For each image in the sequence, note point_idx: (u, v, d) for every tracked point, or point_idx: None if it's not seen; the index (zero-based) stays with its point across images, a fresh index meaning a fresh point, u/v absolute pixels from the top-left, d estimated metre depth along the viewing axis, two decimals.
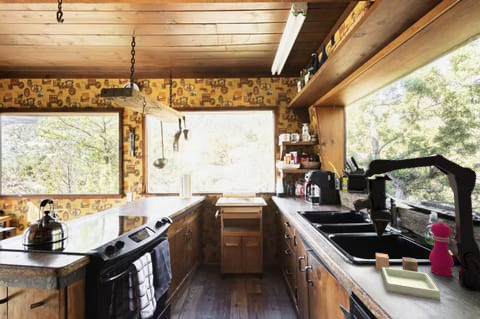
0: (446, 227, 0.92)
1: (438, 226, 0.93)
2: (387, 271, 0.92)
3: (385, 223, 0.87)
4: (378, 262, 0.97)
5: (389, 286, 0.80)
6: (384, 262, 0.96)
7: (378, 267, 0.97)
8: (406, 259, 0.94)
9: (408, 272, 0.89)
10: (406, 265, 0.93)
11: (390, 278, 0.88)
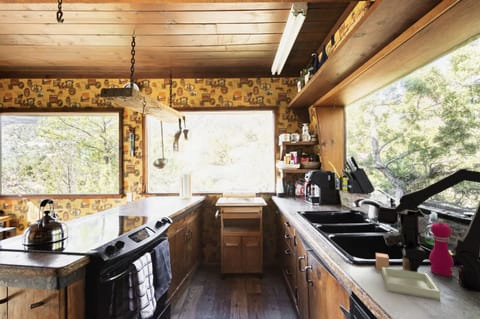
0: (446, 227, 0.92)
1: (438, 226, 0.93)
2: (387, 271, 0.92)
3: (419, 260, 0.88)
4: (378, 262, 0.97)
5: (389, 286, 0.80)
6: (384, 262, 0.96)
7: (378, 267, 0.97)
8: (406, 259, 0.94)
9: (408, 272, 0.89)
10: (406, 265, 0.93)
11: (390, 278, 0.88)
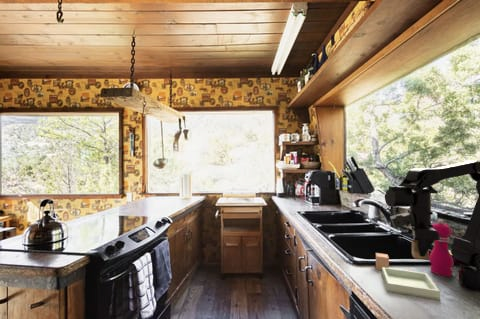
0: (446, 227, 0.92)
1: (438, 226, 0.93)
2: (387, 271, 0.92)
3: (430, 241, 0.78)
4: (378, 262, 0.97)
5: (389, 286, 0.80)
6: (384, 262, 0.96)
7: (378, 267, 0.97)
8: (416, 241, 0.83)
9: (408, 272, 0.89)
10: (416, 248, 0.82)
11: (390, 278, 0.88)
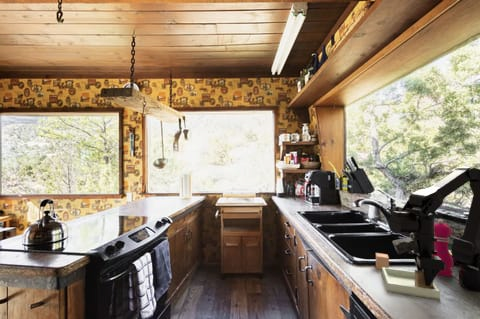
0: (446, 227, 0.92)
1: (438, 226, 0.93)
2: (387, 271, 0.92)
3: (436, 270, 0.75)
4: (378, 262, 0.97)
5: (389, 286, 0.80)
6: (384, 262, 0.96)
7: (378, 267, 0.97)
8: (419, 273, 0.81)
9: (408, 272, 0.89)
10: (419, 280, 0.79)
11: (390, 278, 0.88)
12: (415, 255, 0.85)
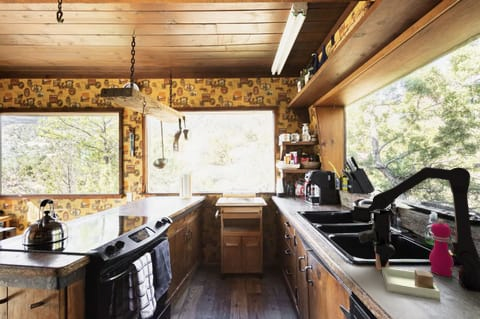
0: (446, 227, 0.92)
1: (438, 226, 0.93)
2: (387, 271, 0.92)
3: (388, 255, 0.94)
4: (378, 262, 0.97)
5: (389, 286, 0.80)
6: None
7: (378, 267, 0.97)
8: (419, 273, 0.81)
9: (408, 272, 0.89)
10: (419, 280, 0.79)
11: (390, 278, 0.88)
12: None
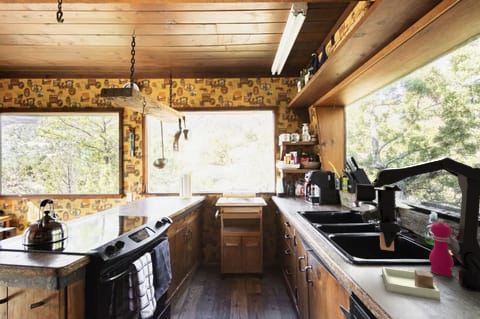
0: (446, 227, 0.92)
1: (438, 226, 0.93)
2: (387, 271, 0.92)
3: (393, 233, 0.88)
4: (382, 241, 0.91)
5: (389, 286, 0.80)
6: None
7: (382, 247, 0.91)
8: (419, 273, 0.81)
9: (408, 272, 0.89)
10: (419, 280, 0.79)
11: (390, 278, 0.88)
12: None
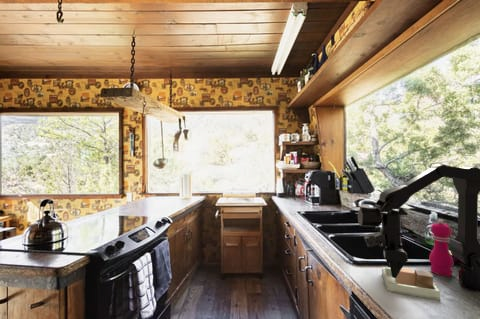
0: (446, 227, 0.92)
1: (438, 226, 0.93)
2: (387, 271, 0.92)
3: (401, 263, 0.81)
4: (406, 273, 0.84)
5: (389, 286, 0.80)
6: (407, 280, 0.84)
7: (400, 272, 0.85)
8: (419, 273, 0.81)
9: None
10: (419, 280, 0.79)
11: (390, 278, 0.88)
12: (384, 248, 0.93)
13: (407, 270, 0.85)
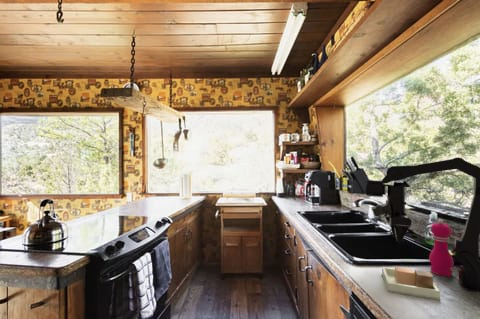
0: (446, 227, 0.92)
1: (438, 226, 0.93)
2: (387, 271, 0.92)
3: (405, 228, 0.90)
4: (406, 273, 0.84)
5: (389, 286, 0.80)
6: (407, 280, 0.84)
7: (400, 272, 0.85)
8: (419, 273, 0.81)
9: None
10: (419, 280, 0.79)
11: (390, 278, 0.88)
12: (390, 218, 1.02)
13: (407, 270, 0.85)
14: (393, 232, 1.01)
